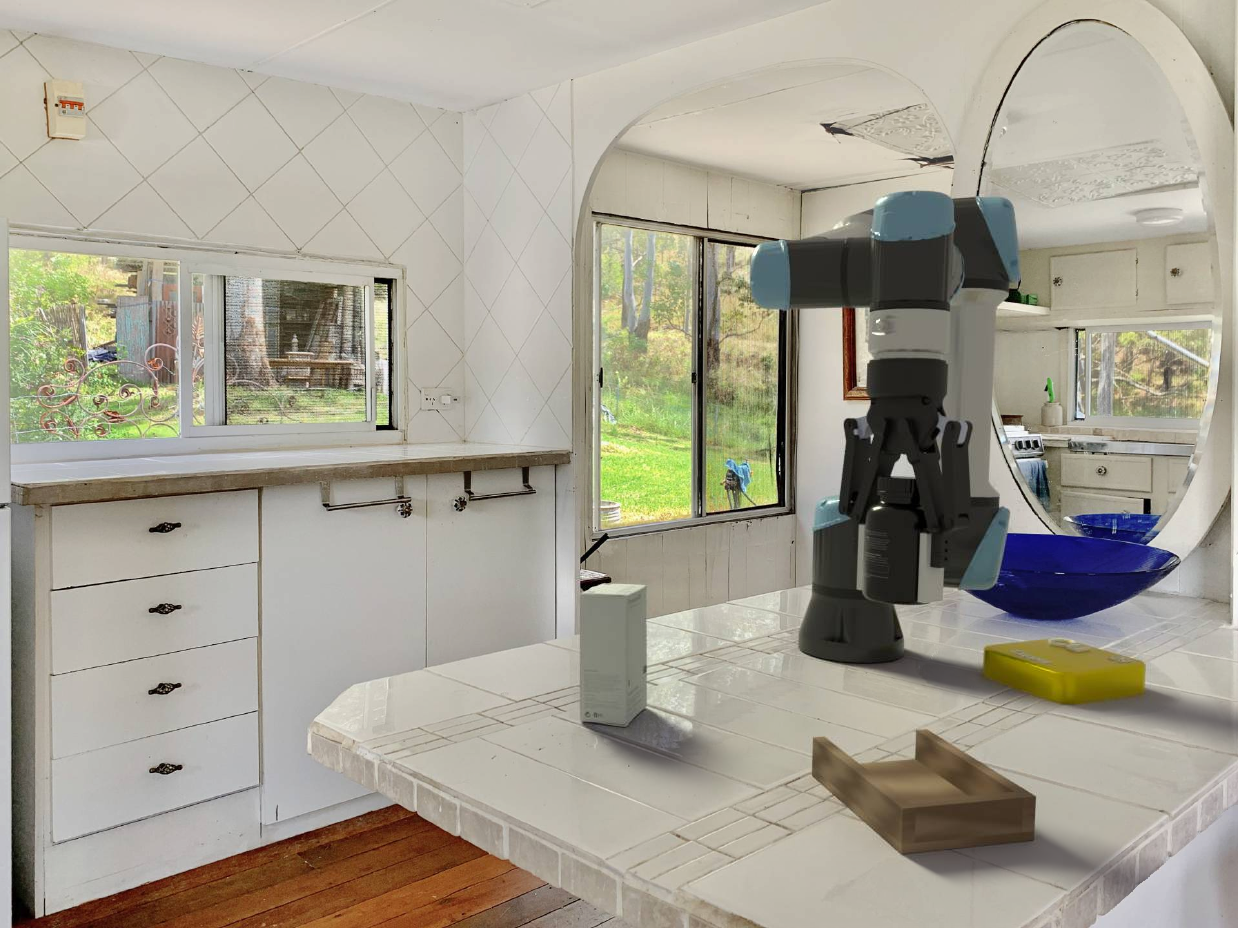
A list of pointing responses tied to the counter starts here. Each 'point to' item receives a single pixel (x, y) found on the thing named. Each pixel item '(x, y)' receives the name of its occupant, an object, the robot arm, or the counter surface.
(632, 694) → the skincare box
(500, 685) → the counter surface
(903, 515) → the supplement bottle
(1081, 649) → the element tile
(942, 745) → the u rest
